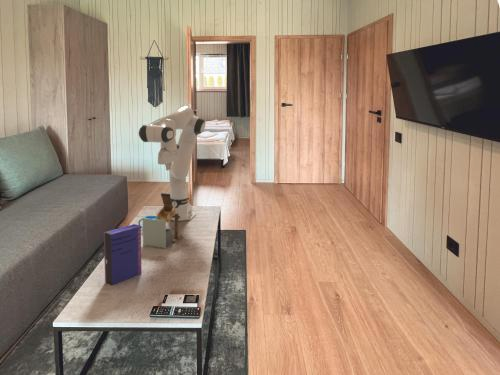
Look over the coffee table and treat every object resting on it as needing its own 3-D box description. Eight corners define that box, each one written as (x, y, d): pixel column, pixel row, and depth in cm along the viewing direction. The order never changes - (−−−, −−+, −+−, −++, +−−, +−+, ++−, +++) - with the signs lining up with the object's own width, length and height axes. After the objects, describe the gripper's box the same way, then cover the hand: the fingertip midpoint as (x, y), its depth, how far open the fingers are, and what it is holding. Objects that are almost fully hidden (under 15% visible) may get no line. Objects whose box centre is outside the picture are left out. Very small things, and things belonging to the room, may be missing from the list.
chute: (164, 212, 291) (159, 192, 282) (177, 213, 288) (172, 193, 280) (156, 222, 283) (151, 202, 275) (170, 224, 280) (165, 203, 272)
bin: (153, 240, 286) (152, 213, 283) (174, 243, 282) (174, 216, 279) (143, 245, 276) (142, 218, 272) (165, 248, 271) (165, 221, 268)
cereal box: (134, 271, 238) (133, 223, 233) (141, 274, 235) (140, 225, 230) (105, 282, 224) (103, 231, 219) (112, 285, 221) (110, 234, 216)
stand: (161, 235, 296) (161, 209, 293) (183, 238, 292) (183, 211, 288) (153, 239, 287) (153, 213, 283) (175, 242, 282) (175, 215, 279)
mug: (159, 228, 309) (158, 216, 307) (155, 232, 301) (155, 219, 299) (140, 227, 310) (140, 215, 308) (136, 231, 302) (136, 218, 300)
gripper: (164, 149, 279) (164, 173, 281) (181, 145, 298) (180, 167, 300) (154, 148, 280) (155, 172, 283) (171, 144, 299) (171, 167, 302)
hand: (168, 170), depth 292 cm, fingers closed
